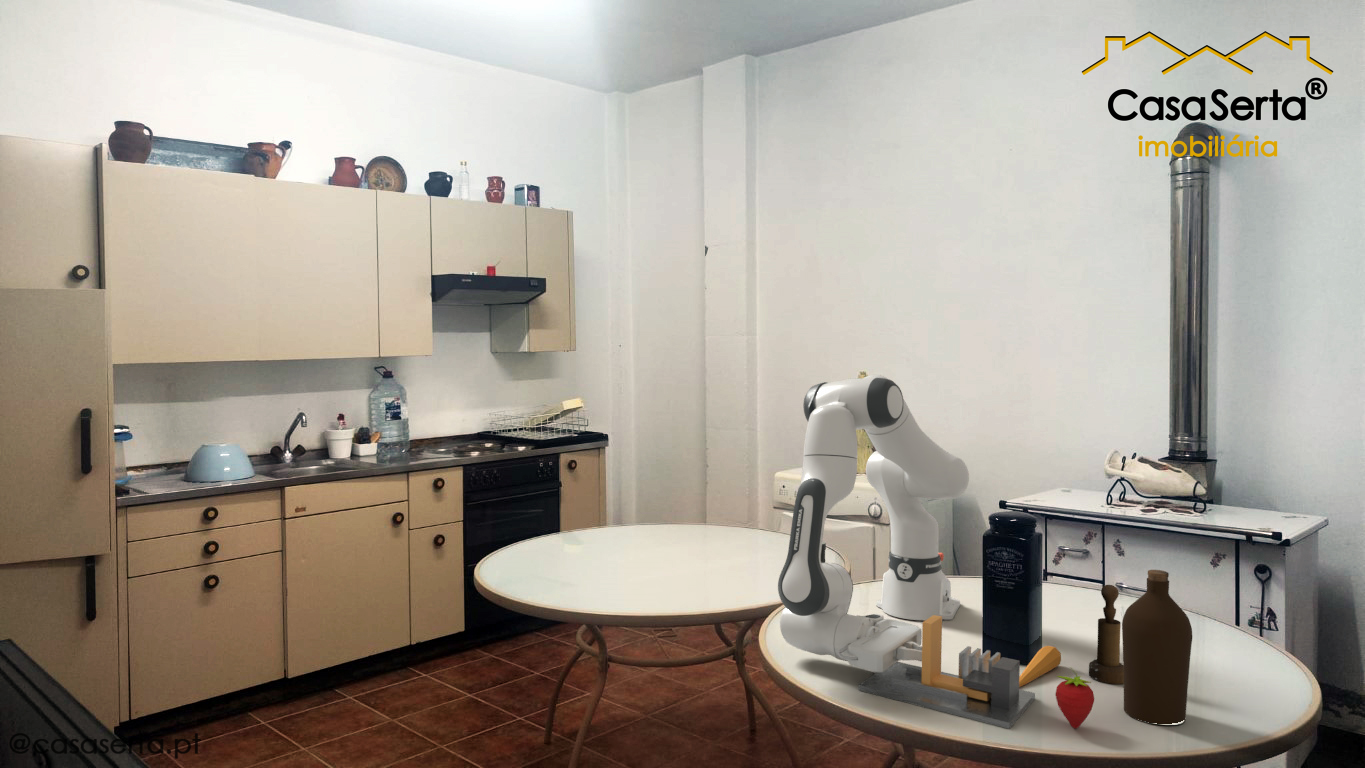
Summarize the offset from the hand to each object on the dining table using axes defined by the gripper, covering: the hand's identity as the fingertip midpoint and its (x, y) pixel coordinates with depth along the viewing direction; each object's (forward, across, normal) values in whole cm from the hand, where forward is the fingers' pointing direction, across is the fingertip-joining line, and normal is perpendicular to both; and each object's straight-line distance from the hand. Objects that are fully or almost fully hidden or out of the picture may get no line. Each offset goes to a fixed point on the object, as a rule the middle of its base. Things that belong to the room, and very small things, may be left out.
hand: (927, 655), depth 161 cm
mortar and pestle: (+26, +27, +7) cm, 38 cm away
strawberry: (+26, -1, +7) cm, 27 cm away
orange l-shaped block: (+6, 0, +5) cm, 8 cm away
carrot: (+14, +19, +7) cm, 24 cm away
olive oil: (+36, +13, +7) cm, 39 cm away
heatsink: (+4, 0, +6) cm, 7 cm away
